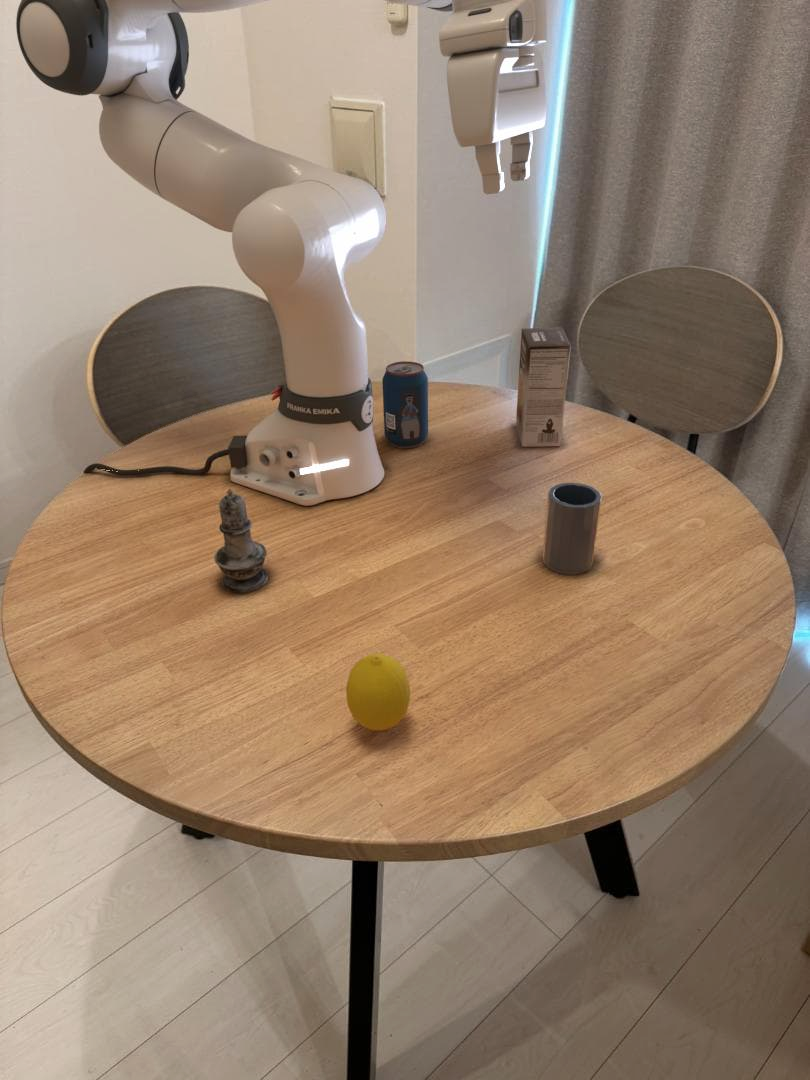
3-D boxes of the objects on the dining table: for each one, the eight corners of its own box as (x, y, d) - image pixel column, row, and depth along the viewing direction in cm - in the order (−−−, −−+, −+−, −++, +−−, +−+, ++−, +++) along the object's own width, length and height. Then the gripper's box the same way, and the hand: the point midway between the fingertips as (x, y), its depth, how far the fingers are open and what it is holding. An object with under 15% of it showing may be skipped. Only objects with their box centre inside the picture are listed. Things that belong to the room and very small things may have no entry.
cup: (537, 569, 86) (543, 502, 81) (548, 544, 91) (555, 479, 86) (587, 579, 84) (596, 511, 79) (596, 553, 89) (605, 487, 84)
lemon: (338, 739, 65) (331, 671, 60) (365, 697, 69) (360, 630, 65) (396, 756, 63) (393, 687, 59) (420, 712, 67) (419, 645, 63)
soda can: (406, 428, 121) (405, 356, 115) (437, 440, 117) (437, 366, 111) (375, 441, 117) (372, 368, 111) (406, 454, 113) (404, 378, 107)
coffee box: (514, 424, 122) (520, 326, 113) (553, 423, 122) (562, 326, 113) (521, 447, 114) (527, 345, 105) (562, 447, 114) (572, 344, 105)
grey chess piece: (279, 570, 87) (266, 480, 81) (254, 598, 82) (239, 505, 76) (235, 562, 89) (220, 473, 82) (209, 589, 84) (190, 497, 78)
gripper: (501, 35, 80) (508, 175, 87) (430, 33, 65) (446, 203, 72) (558, 25, 78) (560, 170, 85) (499, 20, 62) (508, 198, 69)
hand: (507, 186), depth 78 cm, fingers open, 8 cm apart
